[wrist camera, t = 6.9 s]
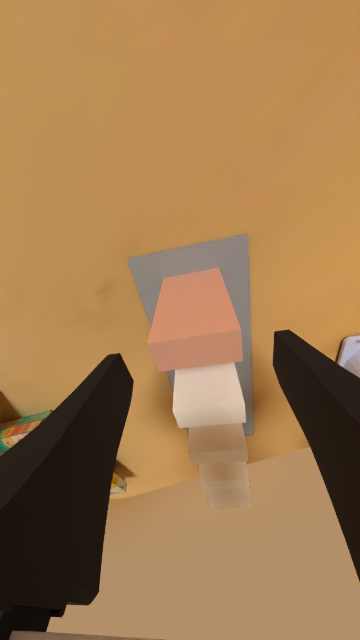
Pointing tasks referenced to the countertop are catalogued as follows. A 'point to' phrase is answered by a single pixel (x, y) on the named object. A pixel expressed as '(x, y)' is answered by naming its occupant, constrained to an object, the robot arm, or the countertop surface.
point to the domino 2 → (208, 396)
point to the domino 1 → (194, 323)
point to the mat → (235, 274)
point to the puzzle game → (15, 430)
